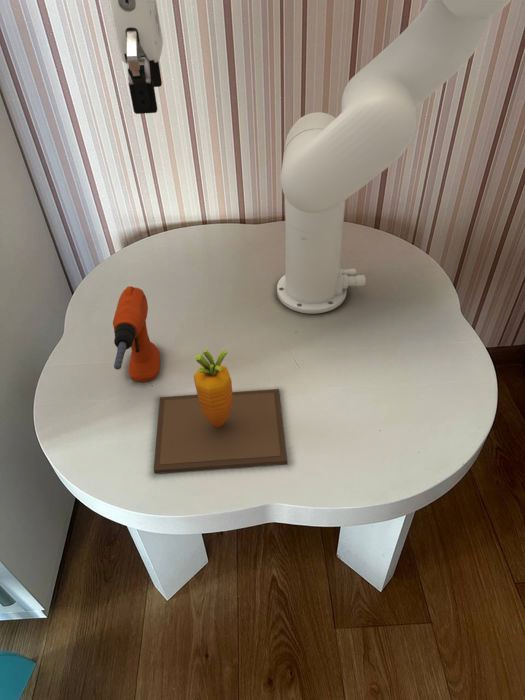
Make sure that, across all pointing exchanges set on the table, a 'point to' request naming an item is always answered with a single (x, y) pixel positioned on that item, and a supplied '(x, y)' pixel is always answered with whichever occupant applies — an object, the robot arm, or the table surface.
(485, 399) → the table surface
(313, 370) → the table surface
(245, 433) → the mat
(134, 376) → the toy drill
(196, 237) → the table surface
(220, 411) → the carrot
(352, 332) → the table surface
